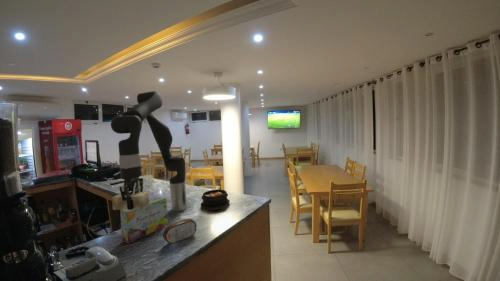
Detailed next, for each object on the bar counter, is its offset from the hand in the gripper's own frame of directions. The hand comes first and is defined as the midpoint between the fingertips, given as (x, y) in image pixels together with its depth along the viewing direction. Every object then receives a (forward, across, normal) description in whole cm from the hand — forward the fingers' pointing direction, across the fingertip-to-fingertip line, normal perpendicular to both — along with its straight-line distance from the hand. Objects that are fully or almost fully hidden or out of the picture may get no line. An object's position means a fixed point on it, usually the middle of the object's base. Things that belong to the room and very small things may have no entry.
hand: (134, 206), depth 88 cm
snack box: (+20, -18, -5) cm, 28 cm away
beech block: (-3, 0, -7) cm, 8 cm away
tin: (+20, -9, +15) cm, 27 cm away
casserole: (+20, -50, +25) cm, 60 cm away
